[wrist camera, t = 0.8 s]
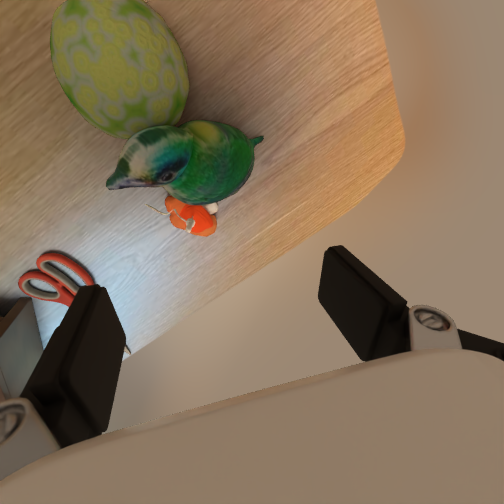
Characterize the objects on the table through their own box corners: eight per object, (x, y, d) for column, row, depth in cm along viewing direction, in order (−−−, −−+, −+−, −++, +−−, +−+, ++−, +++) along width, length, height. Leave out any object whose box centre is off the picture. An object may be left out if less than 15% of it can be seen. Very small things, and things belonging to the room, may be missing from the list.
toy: (224, 236, 32) (136, 223, 17) (182, 196, 33) (71, 155, 19) (289, 156, 29) (249, 64, 15) (240, 118, 31) (162, 2, 17)
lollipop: (175, 158, 29) (172, 187, 19) (229, 213, 34) (249, 260, 24) (140, 193, 30) (119, 238, 20) (197, 242, 35) (203, 298, 25)
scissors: (128, 355, 43) (126, 362, 41) (7, 275, 31) (0, 282, 30) (166, 333, 42) (165, 340, 41) (57, 243, 31) (52, 249, 30)
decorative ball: (114, -21, 21) (69, -104, 13) (207, 80, 26) (219, 69, 18) (55, 79, 23) (-16, 65, 15) (151, 155, 28) (139, 176, 20)
